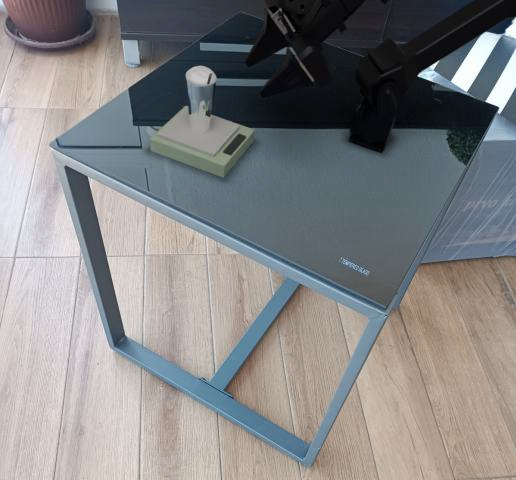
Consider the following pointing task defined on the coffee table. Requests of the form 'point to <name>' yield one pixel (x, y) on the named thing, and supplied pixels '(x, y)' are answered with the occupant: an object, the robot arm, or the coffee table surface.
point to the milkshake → (200, 97)
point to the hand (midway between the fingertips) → (253, 79)
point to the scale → (203, 143)
